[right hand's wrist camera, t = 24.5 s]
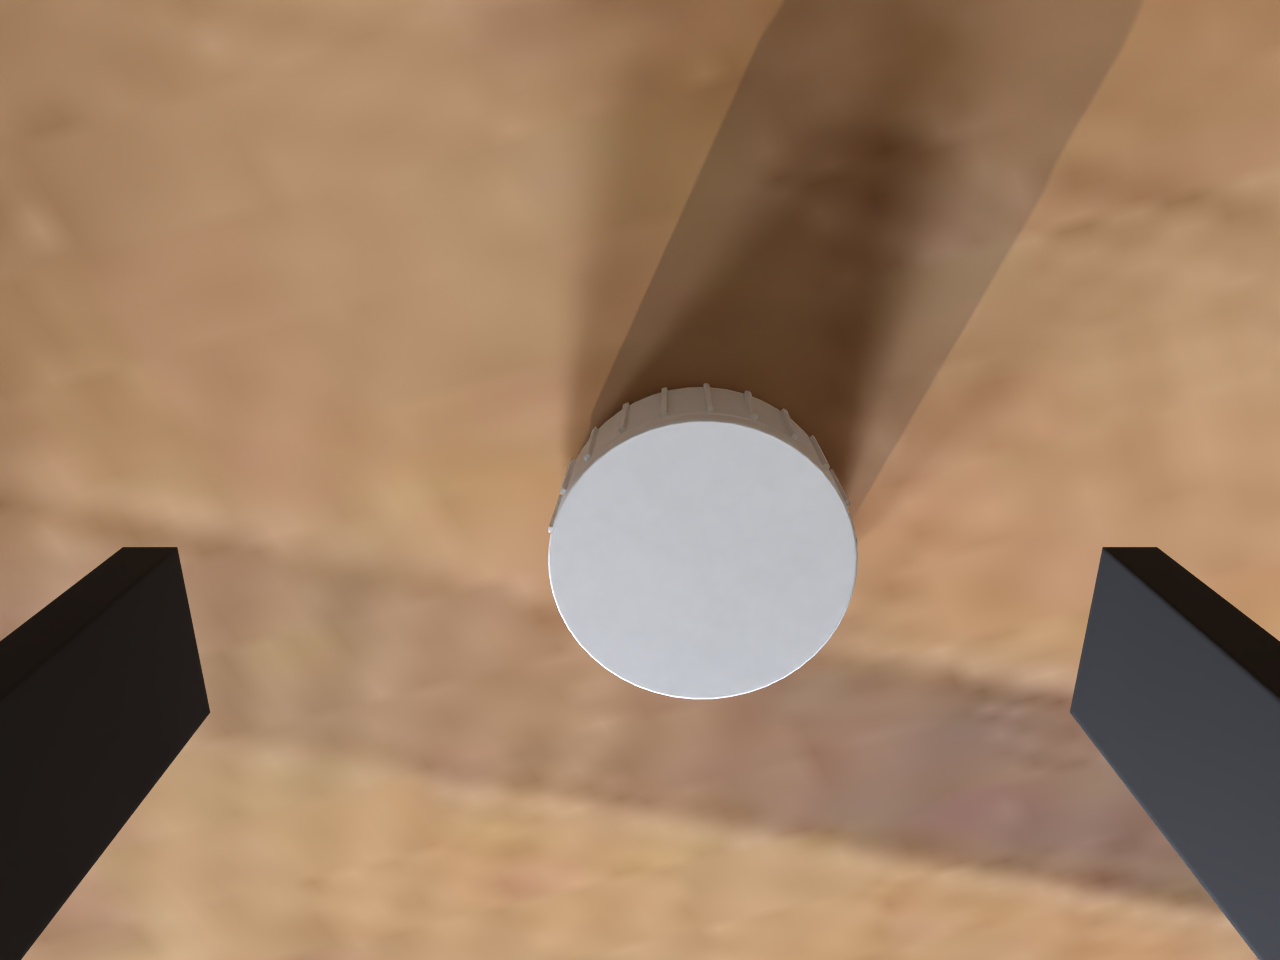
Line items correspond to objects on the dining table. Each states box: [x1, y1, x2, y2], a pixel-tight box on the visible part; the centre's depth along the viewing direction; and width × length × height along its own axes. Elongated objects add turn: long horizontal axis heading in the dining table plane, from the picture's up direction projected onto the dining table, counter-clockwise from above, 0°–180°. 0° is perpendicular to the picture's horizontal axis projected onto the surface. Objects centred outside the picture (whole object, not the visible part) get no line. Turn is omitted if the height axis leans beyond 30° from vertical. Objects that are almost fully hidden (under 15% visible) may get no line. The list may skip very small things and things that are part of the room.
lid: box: [548, 383, 858, 699], centre depth 16 cm, size 6×6×2 cm
